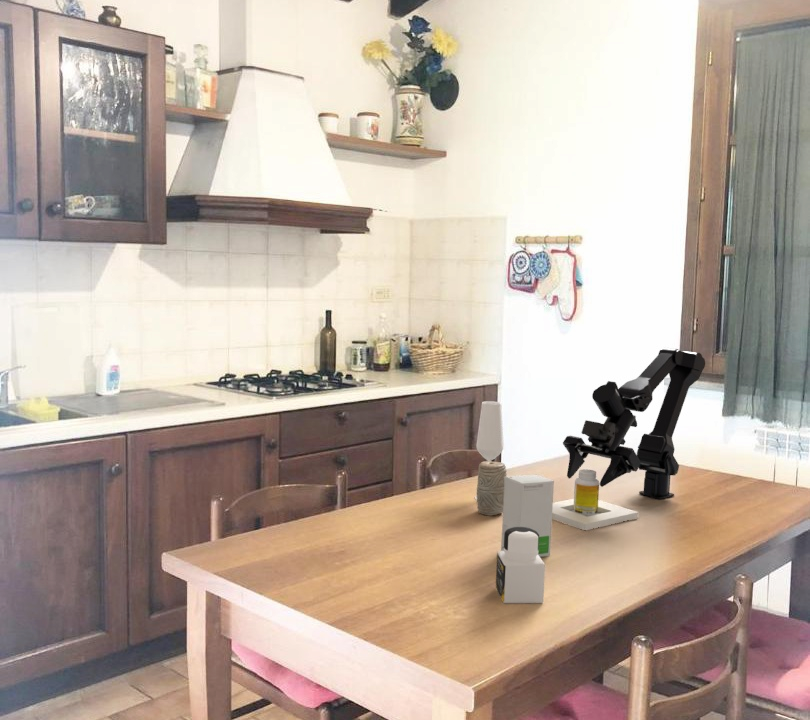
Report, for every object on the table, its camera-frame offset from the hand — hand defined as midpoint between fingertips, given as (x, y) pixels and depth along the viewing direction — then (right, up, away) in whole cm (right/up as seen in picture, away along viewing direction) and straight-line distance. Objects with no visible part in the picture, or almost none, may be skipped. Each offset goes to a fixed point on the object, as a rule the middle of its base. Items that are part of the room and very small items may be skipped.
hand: (584, 481), depth 204 cm
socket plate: (+1, -8, +2) cm, 8 cm away
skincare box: (-17, -11, -26) cm, 33 cm away
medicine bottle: (-22, -14, -49) cm, 55 cm away
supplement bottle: (+1, -8, +2) cm, 8 cm away
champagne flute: (-21, -6, +14) cm, 26 cm away
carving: (-22, -8, +1) cm, 23 cm away
